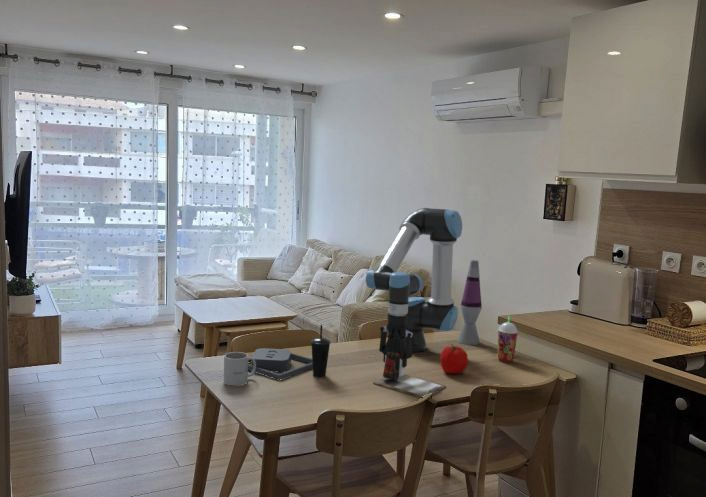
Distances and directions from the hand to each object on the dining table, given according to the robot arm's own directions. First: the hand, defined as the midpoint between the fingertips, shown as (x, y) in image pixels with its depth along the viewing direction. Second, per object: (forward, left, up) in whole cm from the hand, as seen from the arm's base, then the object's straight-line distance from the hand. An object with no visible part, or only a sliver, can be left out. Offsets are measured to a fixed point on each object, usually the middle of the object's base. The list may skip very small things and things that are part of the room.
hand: (394, 372), depth 221 cm
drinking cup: (-24, -15, -3) cm, 29 cm away
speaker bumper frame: (-43, -18, -3) cm, 47 cm away
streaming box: (-45, -20, -4) cm, 50 cm away
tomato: (+13, +25, -3) cm, 28 cm away
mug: (-41, -40, -3) cm, 58 cm away
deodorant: (0, -3, -2) cm, 3 cm away
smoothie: (+23, +56, -3) cm, 60 cm away
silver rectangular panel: (+7, 0, -3) cm, 8 cm away
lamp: (-2, +72, -3) cm, 72 cm away
